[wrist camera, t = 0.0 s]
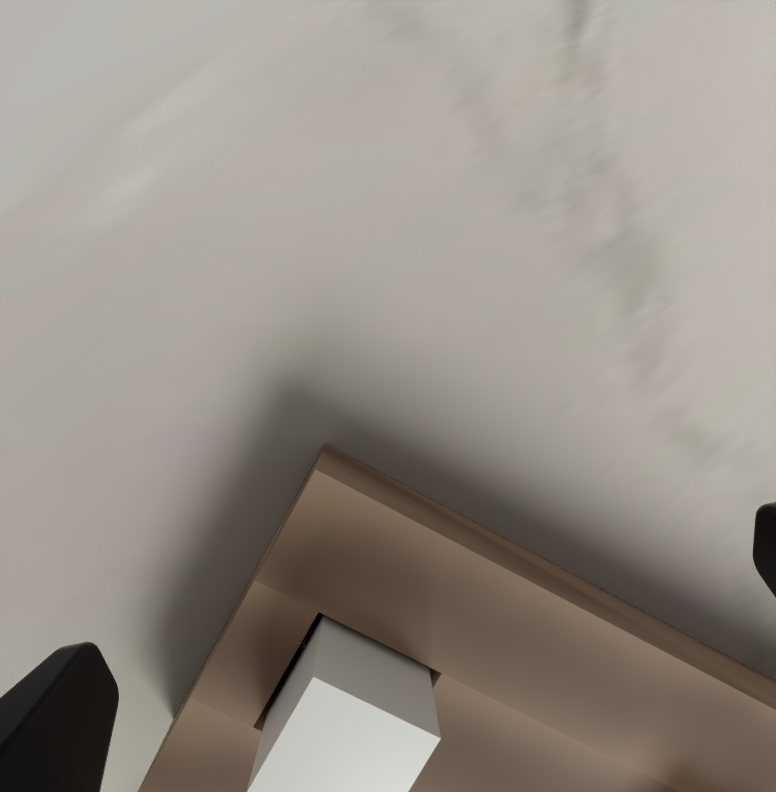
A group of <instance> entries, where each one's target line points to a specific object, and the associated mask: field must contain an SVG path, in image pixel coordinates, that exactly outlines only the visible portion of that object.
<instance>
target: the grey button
mask: <svg viewBox="0 0 776 792" xmlns="http://www.w3.org/2000/svg"><path fill="white" fill-rule="evenodd" d="M440 739H441V736H440V730H439V724H438V718H437V712H436V706H435V700H434V694H433V688H432V682H431V676H430V670H429V668H428V667H426V666H424V665H422V664H420V663H418V662H416V661H414V660H412V659H410V658H408V657H406V656H404V655H402V654H400V653H398V652H396V651H394V650H392V649H390V648H388V647H386V646H384V645H382V644H380V643H378V642H376V641H374V640H372V639H370V638H368V637H365V636H363V635H361V634H359V633H357V632H355V631H353V630H351V629H349V628H347V627H345V626H343V625H341V624H339V623H337V622H335V621H333V620H331V619H329V618H327V617H325V616H323V617H322V618H321V620H320V622H319V624H318V625H317V627H316V629H315V631H314V632H313V634H312V636H311V638H310V640H309V641H308V643H307V645H306V647H305V648H304V650H303V652H302V654H301V655H300V657H299V659H298V661H297V662H296V664H295V666H294V668H293V669H292V671H291V673H290V675H289V676H288V678H287V680H286V682H285V683H284V685H283V687H282V689H281V690H280V692H279V694H278V696H277V697H276V699H275V701H274V703H273V705H272V706H271V708H270V710H269V712H268V713H267V716H266V720H265V723H264V727H263V731H262V735H261V739H260V742H259V746H258V750H257V754H256V758H255V762H254V765H253V769H252V773H251V777H250V781H249V784H248V788H247V792H409V790H410V788H411V787H412V785H413V783H414V782H415V780H416V778H417V777H418V775H419V774H420V772H421V770H422V769H423V767H424V765H425V764H426V762H427V760H428V759H429V757H430V756H431V754H432V752H433V751H434V749H435V747H436V746H437V744H438V743H439V741H440Z"/></svg>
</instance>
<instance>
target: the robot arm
mask: <svg viewBox="0 0 776 792" xmlns="http://www.w3.org/2000/svg"><path fill="white" fill-rule="evenodd" d="M753 560H754V564H755V567H756V569H757V571H758V573H759V574H760V576H761V577H762V579H763V580H764V581H765V583H766V584H767V586H768V587H769V589H770V590H771V591H772V593H773V594H774V596H775V597H776V502H774V503H769V504H765V505H762V506H761V507H759V509H758V510H757V512H756V518H755V531H754V543H753ZM118 701H119V693H118V687H117V684H116V681H115V679H114V677H113V675H112V673H111V671H110V670H109V668H108V666H107V664H106V662H105V660H104V658H103V656H102V654H101V652H100V650H99V648H98V647H97V646H96V645H95V644H94V643H91V642H84V643H79V644H74V645H69V646H65V647H62V648H59V649H58V650H56V651H55V652H54V653H52V654H51V655H50V656H49V657H48V658H47V659H45V660H44V661H43V662H42V663H41V664H40V665H38V666H37V667H36V668H35V669H34V670H33V671H31V672H30V673H29V674H28V675H27V676H25V677H24V678H23V679H22V680H21V681H20V682H18V683H17V684H16V685H15V686H14V687H13V688H11V689H10V690H9V691H8V692H7V693H6V694H4V695H3V696H2V697H1V698H0V792H100V790H101V785H102V780H103V775H104V770H105V765H106V761H107V756H108V751H109V746H110V741H111V737H112V732H113V727H114V722H115V717H116V712H117V708H118Z"/></svg>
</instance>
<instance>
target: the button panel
mask: <svg viewBox="0 0 776 792" xmlns="http://www.w3.org/2000/svg"><path fill="white" fill-rule="evenodd" d="M318 612H319V613H321V614H323V615H325V616H327V617H329V618H331V619H333V620H335V621H337V622H339V623H341V624H343V625H345V626H347V627H349V628H351V629H353V630H355V631H358V632H360V633H362V634H364V635H366V636H368V637H370V638H372V639H374V640H376V641H378V642H380V643H382V644H384V645H386V646H388V647H390V648H392V649H394V650H396V651H398V652H400V653H402V654H404V655H406V657H408V658H410V659H412V660H414V661H416V662H418V663H420V664H422V665H424V666H426V667H428V668H429V670H430V676H431V682H432V688H433V694H434V700H435V706H436V712H437V718H438V724H439V730H440V736H441V739H440V741H439V743H438V744H437V746H436V747H435V749H434V751H433V752H432V754H431V756H430V757H429V759H428V760H427V762H426V764H425V765H424V767H423V769H422V770H421V772H420V774H419V775H418V777H417V778H416V780H415V782H414V783H413V785H412V787H411V788H410V790H409V792H776V682H775V681H774V680H772V679H770V678H768V677H766V676H764V675H762V674H760V673H758V672H757V671H755V670H753V669H751V668H749V667H747V666H745V665H743V664H741V663H740V662H738V661H736V660H734V659H732V658H730V657H728V656H726V655H724V654H723V653H721V652H719V651H717V650H715V649H713V648H711V647H709V646H707V645H706V644H704V643H702V642H700V641H698V640H696V639H694V638H692V637H690V636H688V635H687V634H685V633H683V632H681V631H679V630H677V629H675V628H673V627H671V626H670V625H668V624H666V623H664V622H662V621H660V620H658V619H656V618H654V617H653V616H651V615H649V614H647V613H645V612H643V611H641V610H639V609H637V608H636V607H634V606H632V605H630V604H628V603H626V602H624V601H622V600H620V599H619V598H617V597H615V596H613V595H611V594H609V593H607V592H605V591H603V590H602V589H600V588H598V587H596V586H594V585H592V584H590V583H588V582H586V581H584V580H583V579H581V578H579V577H577V576H575V575H573V574H571V573H569V572H567V571H566V570H564V569H562V568H560V567H558V566H556V565H554V564H552V563H550V562H549V561H547V560H545V559H543V558H541V557H539V556H537V555H535V554H533V553H532V552H530V551H528V550H526V549H524V548H522V547H520V546H518V545H516V544H515V543H513V542H511V541H509V540H507V539H505V538H503V537H501V536H499V535H497V534H496V533H494V532H492V531H490V530H488V529H486V528H484V527H482V526H480V525H479V524H477V523H475V522H473V521H471V520H469V519H467V518H465V517H463V516H462V515H460V514H458V513H456V512H454V511H452V510H450V509H448V508H446V507H445V506H443V505H441V504H439V503H437V502H435V501H433V500H431V499H429V498H428V497H426V496H424V495H422V494H420V493H418V492H416V491H414V490H412V489H411V488H409V487H407V486H405V485H403V484H401V483H399V482H397V481H395V480H393V479H392V478H390V477H388V476H386V475H384V474H382V473H380V472H378V471H376V470H375V469H373V468H371V467H369V466H367V465H365V464H363V463H361V462H359V461H358V460H356V459H354V458H352V457H350V456H348V455H346V454H344V453H342V452H341V451H339V450H337V449H335V448H333V447H331V446H329V445H327V444H324V446H323V448H322V450H321V452H320V454H319V455H318V457H317V459H316V461H315V463H314V464H313V466H312V468H311V470H310V472H309V474H308V475H307V477H306V479H305V481H304V483H303V485H302V486H301V488H300V490H299V492H298V494H297V495H296V497H295V499H294V501H293V503H292V505H291V506H290V508H289V510H288V512H287V514H286V516H285V517H284V519H283V521H282V523H281V525H280V526H279V528H278V530H277V532H276V534H275V536H274V537H273V539H272V541H271V543H270V545H269V547H268V548H267V550H266V552H265V554H264V556H263V557H262V559H261V561H260V563H259V565H258V567H257V568H256V570H255V572H254V574H253V576H252V577H251V579H250V581H249V583H248V585H247V587H246V588H245V590H244V592H243V594H242V596H241V598H240V599H239V601H238V603H237V605H236V607H235V608H234V610H233V612H232V614H231V616H230V618H229V619H228V621H227V623H226V625H225V627H224V629H223V630H222V632H221V634H220V636H219V638H218V639H217V641H216V643H215V645H214V647H213V649H212V650H211V652H210V654H209V656H208V658H207V660H206V661H205V663H204V665H203V667H202V669H201V670H200V672H199V674H198V676H197V678H196V680H195V681H194V683H193V685H192V687H191V689H190V691H189V692H188V694H187V696H186V698H185V700H184V701H183V703H182V705H181V707H180V709H179V711H178V712H177V714H176V716H175V718H174V720H173V722H172V724H171V726H170V728H169V730H168V732H167V734H166V736H165V738H164V740H163V742H162V744H161V746H160V748H159V750H158V752H157V754H156V756H155V758H154V760H153V762H152V764H151V766H150V768H149V770H148V772H147V774H146V776H145V778H144V780H143V783H142V785H141V787H140V789H139V791H138V792H247V788H248V784H249V781H250V777H251V773H252V769H253V765H254V762H255V758H256V754H257V750H258V746H259V742H260V739H261V735H262V731H263V727H264V723H265V720H266V716H267V713H268V712H269V710H270V708H271V706H272V705H273V703H274V701H275V699H276V697H277V696H278V694H279V692H280V690H281V689H282V687H283V685H284V683H285V682H286V680H287V678H288V676H289V675H290V673H291V671H292V670H291V669H289V668H287V667H288V665H289V663H290V661H291V660H292V658H293V656H294V654H295V653H296V651H297V649H298V647H299V645H300V644H301V642H302V640H303V638H304V637H305V635H306V633H307V631H308V630H309V628H310V626H311V624H312V623H313V621H314V619H315V617H316V616H317V614H318Z"/></svg>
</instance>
